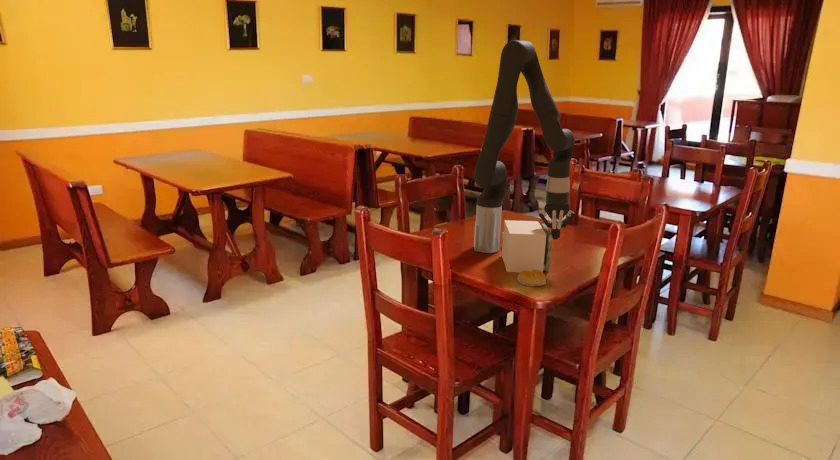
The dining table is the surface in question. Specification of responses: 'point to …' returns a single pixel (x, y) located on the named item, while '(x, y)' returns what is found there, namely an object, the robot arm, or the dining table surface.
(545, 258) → the carrier
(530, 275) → the bread roll
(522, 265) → the white upright box
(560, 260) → the dining table surface
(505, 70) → the robot arm
